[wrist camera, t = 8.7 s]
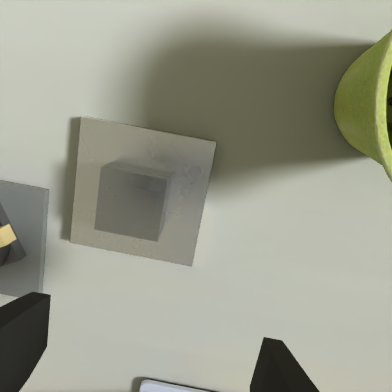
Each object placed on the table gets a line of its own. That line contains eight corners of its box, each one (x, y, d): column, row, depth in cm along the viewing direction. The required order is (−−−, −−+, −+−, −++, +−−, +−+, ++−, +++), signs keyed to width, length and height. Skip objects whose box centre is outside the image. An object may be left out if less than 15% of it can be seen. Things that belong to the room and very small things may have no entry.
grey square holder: (192, 260, 21) (189, 284, 18) (75, 237, 21) (53, 257, 18) (216, 141, 19) (216, 146, 16) (86, 116, 19) (63, 116, 16)
